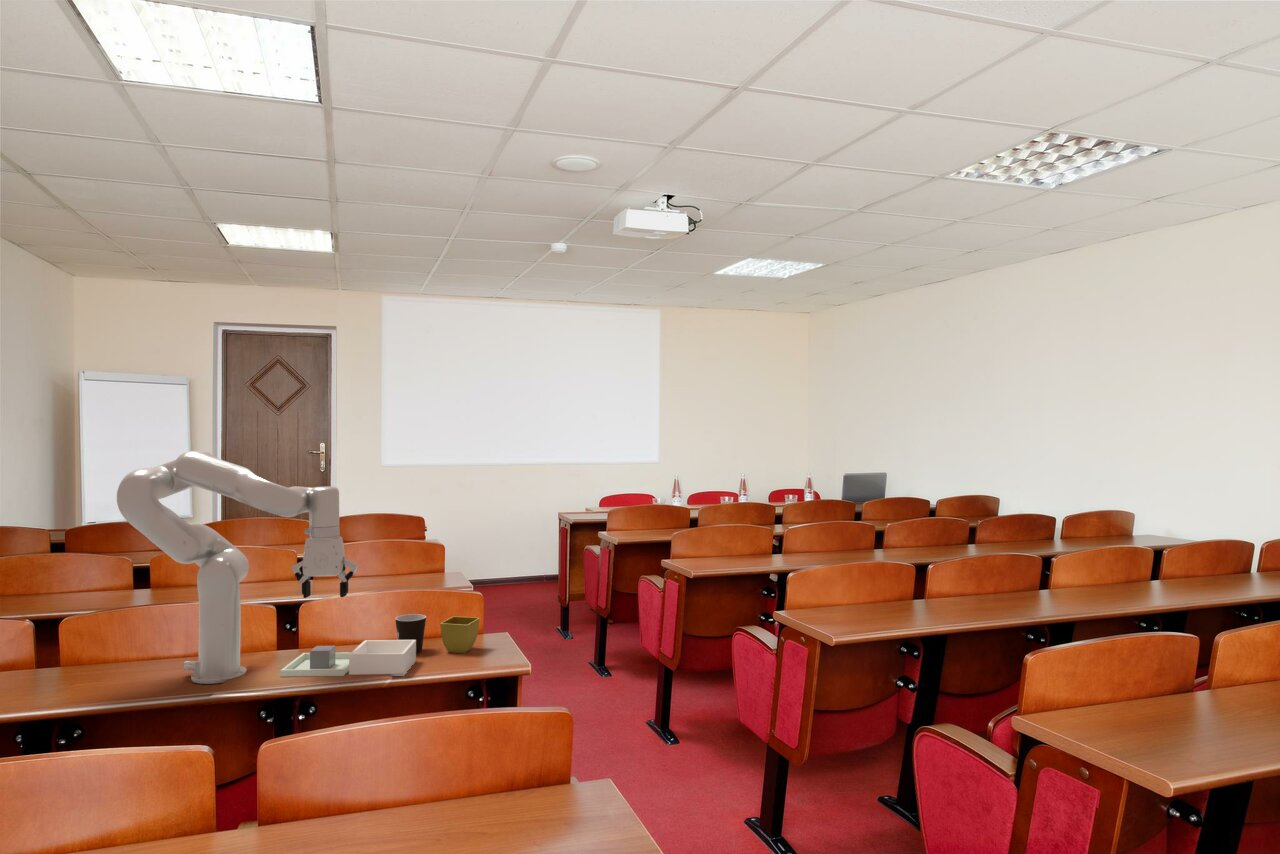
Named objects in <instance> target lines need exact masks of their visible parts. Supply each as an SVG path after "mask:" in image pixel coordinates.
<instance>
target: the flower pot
mask: <svg viewBox="0 0 1280 854" xmlns="http://www.w3.org/2000/svg"><path fill="white" fill-rule="evenodd" d="M479 626H480V617H473V616H472V617H471V616H457V615H455V616H454V615H453V616H451V617H449V618H448V619H446V620H444V621H442V622H440V632H441V633H440V634H441V640H442V643H443V645H444V647H445V649H446V651H448V653H459V654H466V653H467V652H468V651H470V650H471V649H472V648H473V646H474V644H475V642H476V640H477V637H478V633H479Z"/></svg>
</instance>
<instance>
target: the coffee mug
mask: <svg viewBox="0 0 1280 854" xmlns="http://www.w3.org/2000/svg"><path fill="white" fill-rule="evenodd" d="M426 621H427V616H426V615H425V614H419V613H412V614H411V613H409V614H402V615H397V616H396V617H395V627H396V637H397V638H396V639H397V640H416V655H418V653H419V654H420V653H422V652H423V645H424V638H425V628H426Z"/></svg>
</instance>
